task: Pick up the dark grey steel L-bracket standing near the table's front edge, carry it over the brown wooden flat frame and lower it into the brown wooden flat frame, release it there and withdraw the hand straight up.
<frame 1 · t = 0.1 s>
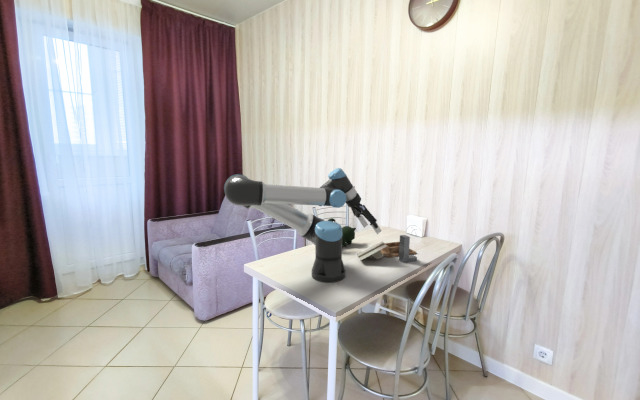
hand: (372, 229, 152), 15 cm above the table, tool tilted 35°, fingers open, 13 cm apart
bracket: (403, 261, 150), on the table
toy figurine: (340, 246, 174), on the table
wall: (371, 259, 153), on the table
brown wooden flat frame: (394, 251, 164), on the table
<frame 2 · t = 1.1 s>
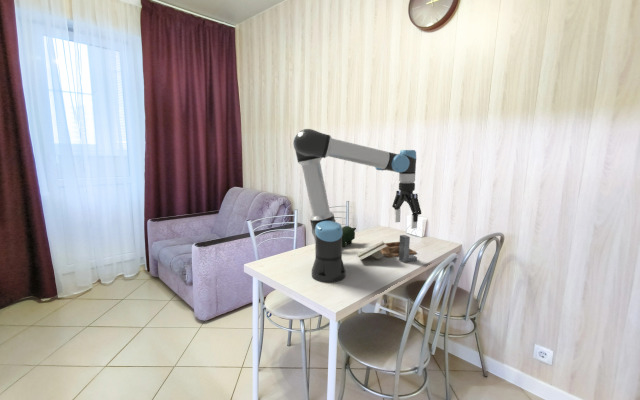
hand: (405, 225, 147), 19 cm above the table, tool pointing down, fingers open, 13 cm apart
nothing on the table moved.
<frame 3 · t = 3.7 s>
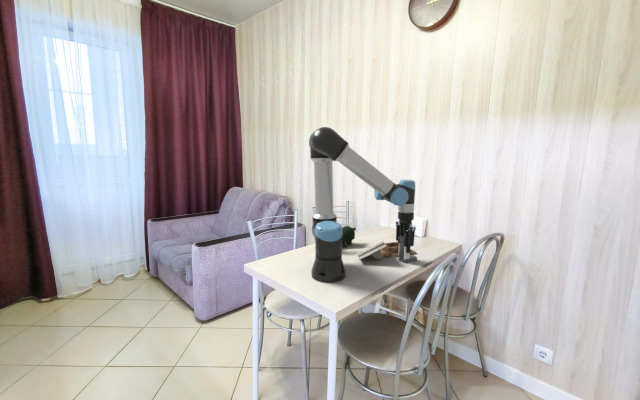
hand: (403, 257, 150), 2 cm above the table, tool pointing down, fingers closed on bracket, 4 cm apart
bracket: (403, 261, 150), on the table, touching gripper
everything else where it was.
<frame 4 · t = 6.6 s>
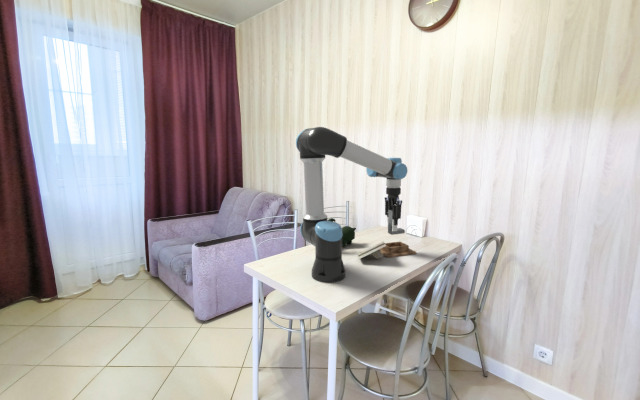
hand: (392, 229, 162), 13 cm above the table, tool pointing down, fingers closed on bracket, 4 cm apart
bracket: (392, 233, 162), point 10 cm above the table, touching gripper
everything else where it was.
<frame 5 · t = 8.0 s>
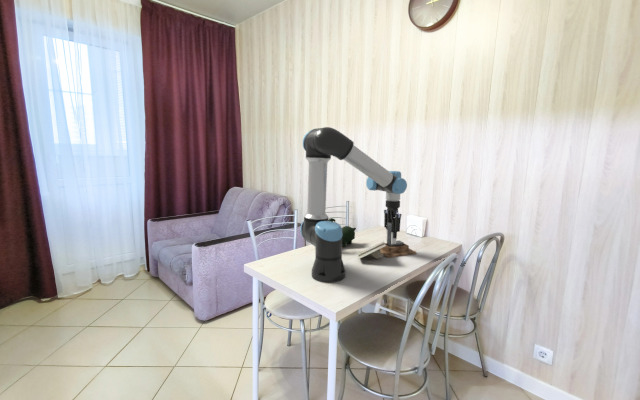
hand: (391, 242, 163), 6 cm above the table, tool pointing down, fingers closed on bracket, 4 cm apart
bracket: (391, 246, 163), point 3 cm above the table, touching gripper
everything else where it was.
when the fingers open (6 cm above the table, at t = 8.3 s): bracket drops 2 cm, resting on brown wooden flat frame.
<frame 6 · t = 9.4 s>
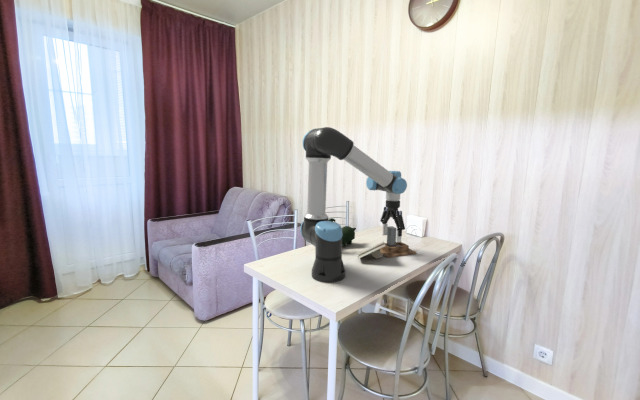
hand: (391, 238, 162), 8 cm above the table, tool pointing down, fingers open, 13 cm apart
bracket: (390, 250, 164), point 1 cm above the table, touching brown wooden flat frame
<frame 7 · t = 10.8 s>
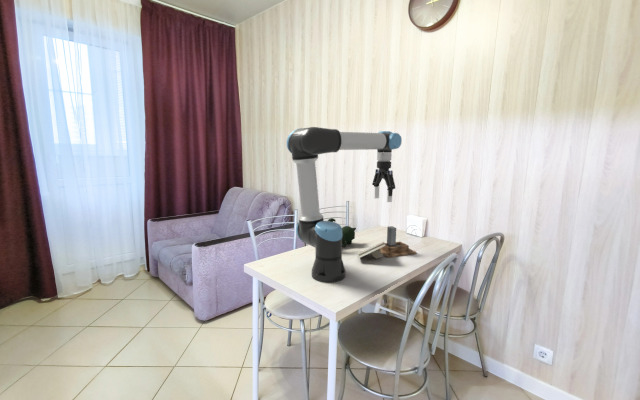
hand: (382, 200, 163), 28 cm above the table, tool pointing down, fingers open, 13 cm apart
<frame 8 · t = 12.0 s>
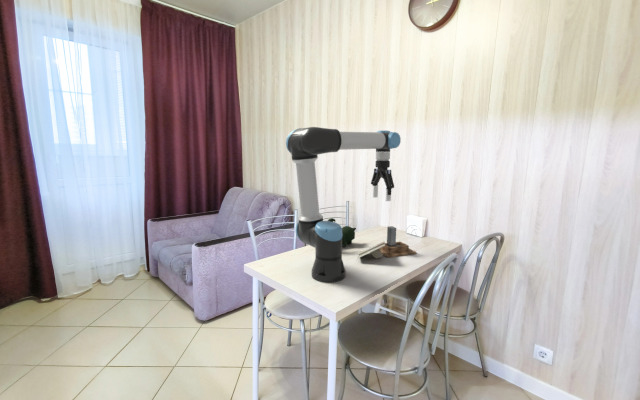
hand: (381, 199, 164), 29 cm above the table, tool pointing down, fingers open, 13 cm apart
at the end: bracket 0.0 cm from the target spot on the brown wooden flat frame, point 1.0 cm above the brown wooden flat frame's base; bracket tilted 0°; the gripper is holding nothing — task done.
